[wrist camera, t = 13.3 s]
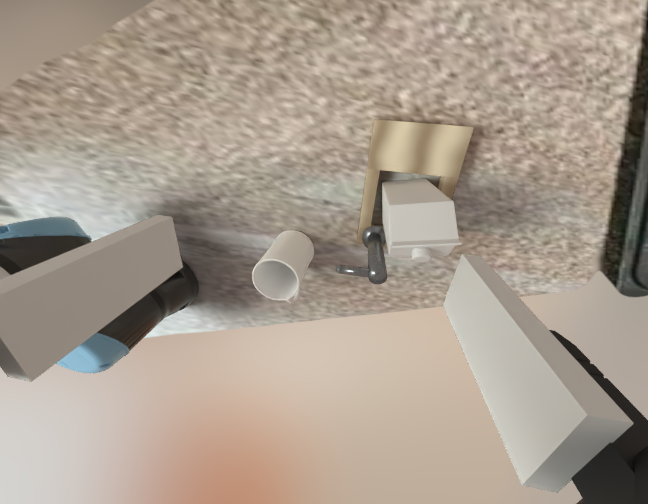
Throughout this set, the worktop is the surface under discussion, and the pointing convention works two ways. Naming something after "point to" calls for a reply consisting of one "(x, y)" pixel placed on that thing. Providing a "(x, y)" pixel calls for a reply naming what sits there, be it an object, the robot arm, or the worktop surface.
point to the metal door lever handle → (370, 257)
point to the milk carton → (418, 220)
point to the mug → (283, 266)
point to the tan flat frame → (413, 157)
